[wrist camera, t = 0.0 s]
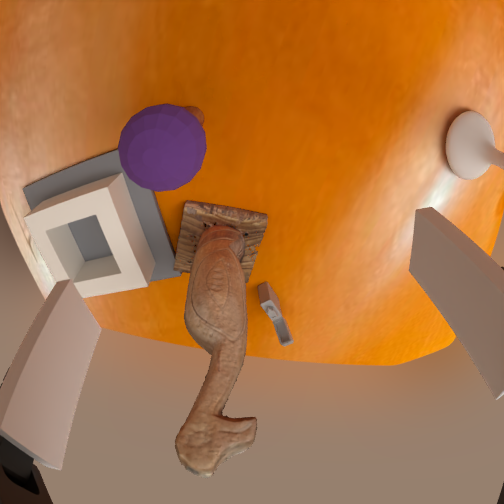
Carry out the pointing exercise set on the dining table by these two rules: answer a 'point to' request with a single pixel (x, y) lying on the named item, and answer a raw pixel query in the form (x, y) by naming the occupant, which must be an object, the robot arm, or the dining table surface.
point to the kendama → (163, 146)
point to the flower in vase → (471, 146)
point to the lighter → (274, 313)
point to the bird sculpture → (216, 326)
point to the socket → (99, 228)
